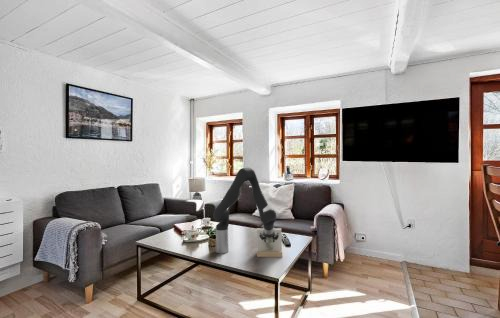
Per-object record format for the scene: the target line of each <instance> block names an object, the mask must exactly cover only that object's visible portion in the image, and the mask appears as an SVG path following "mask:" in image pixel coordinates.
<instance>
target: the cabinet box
mask: <svg viewBox="0 0 500 318" xmlns="http://www.w3.org/2000/svg"><path fill="white" fill-rule="evenodd" d="M266 250H273V239H271V238H267V239H266Z"/></svg>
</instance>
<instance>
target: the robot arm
mask: <svg viewBox="0 0 500 318" xmlns="http://www.w3.org/2000/svg"><path fill="white" fill-rule="evenodd" d="M246 182H249V183H250V185H251V187H252V189H251V190H252V199H253V201H254V203H255V205H256V206H257V207H256V208H257V209H258V214H259V220H260V221H261V223H262V224H263V225H262V229H263V231H264V233H263V234H261V233H260V238H261V240H263V239H264V242H266V239H267V238H271V239H273V242H275V239H276V240H277V239H278V237H279V233H277V234H275V233H274V229H275V222H276V220H277V213H276V211H275V210H274V209H273V208H272V209H271V208H269V209H267V210H266V211H264V209H265V208H267V207H268V205H269V204H268V202H267V200H266V198H265V196H264V194H263V192H262V189H261V186H260V183H259V180H258V177H257V175H256V172H255V170H254V169H253V168H252V167H242V168H240V169H239V170H238V171H237V173H236V175H235V177H234V180H233V181H232V183H231V185H230V187H229V188H228V190H227V191H226V193H225V195H224V196H223V198H222V199H221V201H220V202H219V204H218V205H217V206H216V208H215V209H214V211H213V214H212V218H213V220H214V221H217V222H219V223H217V224H216V225H215V237H216V238H215V239H214V240H215V253H217V254H227V253H228V252H229V225H230V211H229V210H228V209H229V208H230V207H231V206H234V204H235V203H236V202H237V201H238V199H239V198H240V196H241V188H242V186H243V184H244V183H246ZM263 236H264V237H263ZM274 236H275V237H274Z"/></svg>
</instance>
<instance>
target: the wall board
mask: <svg viewBox="0 0 500 318" xmlns="http://www.w3.org/2000/svg"><path fill="white" fill-rule="evenodd" d="M260 233H261V234H263V233H264V231H263V228H256V243H257V245H256V246H257V247H256V248H257V251H256V257H257V258H283V247H282V246H283V244H282V240H283V239H282V238H283V237H282V228H274V233H275V234H277V233H279V237H278V239H277V240H276V239H275V242H273V250H266V242H264V239H263V240H261V238H260ZM263 237H264V236H263ZM274 237H275V236H274Z"/></svg>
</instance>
